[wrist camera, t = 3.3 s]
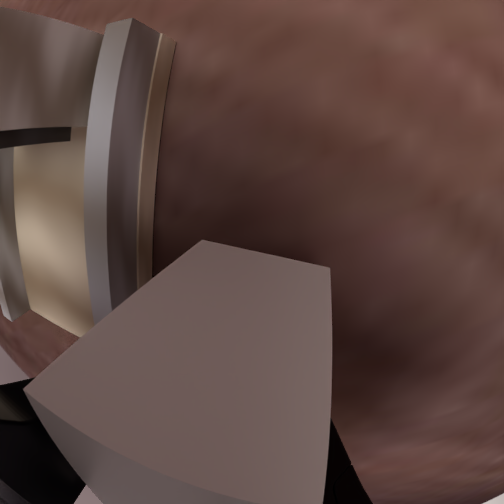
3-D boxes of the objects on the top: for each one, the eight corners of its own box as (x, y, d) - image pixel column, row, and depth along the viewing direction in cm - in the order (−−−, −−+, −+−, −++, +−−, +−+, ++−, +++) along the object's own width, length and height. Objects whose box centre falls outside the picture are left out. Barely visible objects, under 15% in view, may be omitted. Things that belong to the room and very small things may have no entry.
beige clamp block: (154, 355, 15) (72, 458, 8) (31, 296, 17) (-44, 348, 10) (176, 42, 10) (24, -30, 2) (27, 74, 11) (-75, 76, 4)
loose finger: (329, 267, 8) (321, 512, 2) (282, 415, 11) (242, 563, 5) (185, 235, 9) (1, 370, 3) (181, 386, 12) (103, 511, 5)
